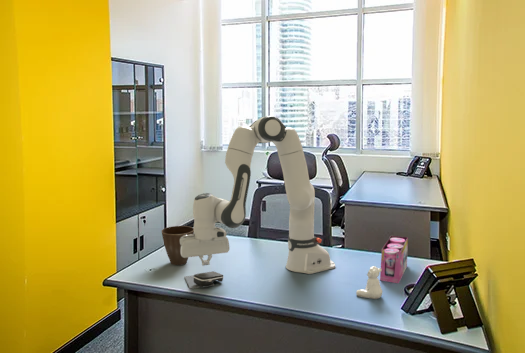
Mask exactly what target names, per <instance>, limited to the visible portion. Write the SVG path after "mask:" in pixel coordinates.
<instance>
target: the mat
mask: <svg viewBox="0 0 525 353" xmlns="http://www.w3.org/2000/svg"><path fill="white" fill-rule="evenodd" d="M194 275H195V274H193V275H187V276H186V275H185V276H184V280H185V282H186V284H187V286H188V288H189V290H193V289H201V288H207V287H214V286H215V283H214V281H213V282H212V285H210V286H200V285H197V284H195V283H194Z"/></svg>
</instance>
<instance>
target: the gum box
mask: <svg viewBox="0 0 525 353" xmlns="http://www.w3.org/2000/svg"><path fill="white" fill-rule="evenodd" d="M408 241H409V237H406V236H398V235H397V236H396V235H390V236H389V238H388V239H387V241H386V243H385V244H384V245H383V247H382V248H381V257H380V258H381V260H380V268H381V269H382V270H381V272H379V275H380V276H379V281H383V282H390V283H394V284H400V282H401V280H402V277H403V276H404V274H405V271H406V269H407V267H408V245H409V244H408V243H409V242H408Z"/></svg>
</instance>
